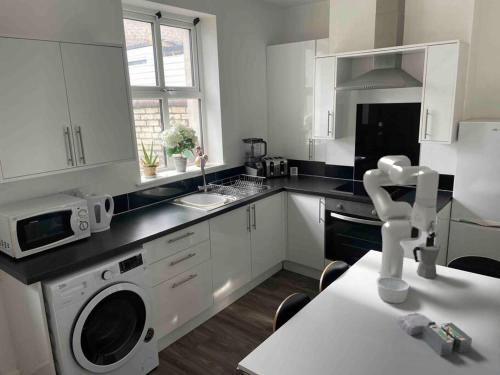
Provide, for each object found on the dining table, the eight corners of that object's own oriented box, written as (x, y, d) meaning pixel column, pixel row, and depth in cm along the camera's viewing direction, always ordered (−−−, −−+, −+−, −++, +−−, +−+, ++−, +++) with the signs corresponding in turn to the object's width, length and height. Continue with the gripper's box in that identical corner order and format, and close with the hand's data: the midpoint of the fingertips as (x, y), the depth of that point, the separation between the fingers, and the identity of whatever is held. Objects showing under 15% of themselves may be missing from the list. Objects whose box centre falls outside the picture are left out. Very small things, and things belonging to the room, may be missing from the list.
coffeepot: (431, 269, 198) (435, 236, 194) (444, 277, 189) (448, 243, 185) (405, 272, 195) (408, 239, 191) (416, 280, 186) (420, 246, 182)
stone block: (393, 327, 153) (411, 337, 143) (393, 315, 153) (410, 324, 143) (418, 322, 156) (436, 332, 147) (417, 311, 156) (436, 319, 147)
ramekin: (403, 290, 177) (404, 277, 176) (411, 306, 164) (413, 291, 163) (373, 289, 179) (374, 276, 177) (380, 304, 166) (381, 290, 164)
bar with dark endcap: (427, 329, 146) (429, 315, 145) (433, 328, 147) (435, 314, 145) (447, 347, 136) (449, 331, 134) (453, 346, 136) (455, 330, 135)
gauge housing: (422, 338, 142) (423, 326, 141) (450, 334, 145) (451, 321, 143) (440, 356, 133) (442, 342, 131) (470, 351, 135) (472, 337, 134)
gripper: (404, 196, 158) (400, 235, 162) (431, 208, 142) (427, 251, 146) (420, 195, 160) (416, 233, 164) (449, 206, 143) (444, 249, 147)
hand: (421, 241), depth 155 cm, fingers open, 9 cm apart
